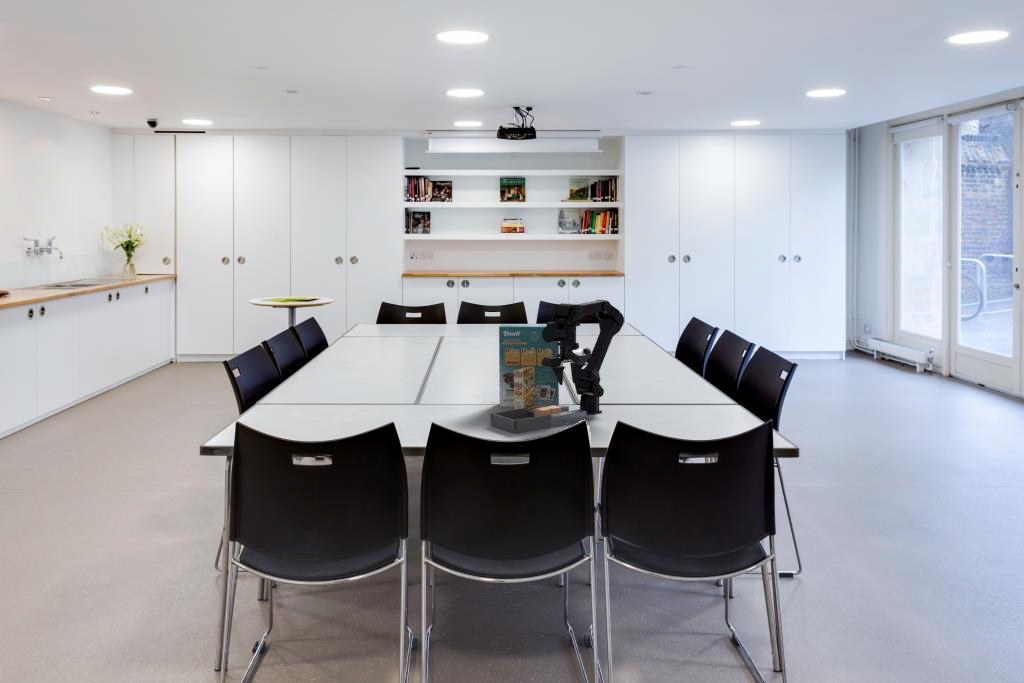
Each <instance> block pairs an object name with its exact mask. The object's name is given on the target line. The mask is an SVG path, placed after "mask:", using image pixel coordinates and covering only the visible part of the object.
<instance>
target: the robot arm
mask: <svg viewBox="0 0 1024 683" xmlns="http://www.w3.org/2000/svg"><path fill="white" fill-rule="evenodd" d="M595 313H596V317H597V320H599V323H598V326H599V334H598V337H597V339H596V341H595V343H594V346H593V349H592V351H591V348H589V347H585V348H580V344H579V342H577V327H580V326H581V324H580V322H578V320H580V319H582V317H583V316H587V315H591V314H595ZM552 316H553V317H552V319H551V321H550V322H546V325H547V326H546V327H545V328H544V329H543V332H542V337H543V339H544V341H545V342H547V343H551V342H557V345H558V346H559V354H557V357H559V358H557V357H552V356H551V357H544V358H543V360H542V365H544V366H548V367H551V368H552V370H553V372H554V373H555V375H556V378H557V380H558V382H559V386H563V383H564V371H565V368H566V366H564V364H565V363H566V364H567V363H569V364H570V365H569V366H570V372H571V379H572V383H573V384H574V387H575V392H576V395H578V396H579V395H580V400H579V409H581V410H585V411H586V415H594V414H598V413H599V414H600V413H602V412H603V410H601V409H600V398H601V397H604V393H605V389H604V388H603V387H602V385H601V384H600V382H601V375H600V370H601V369H602V365H603V362H604V360H605V357H606V355H607V353H608V350H609V348H610V346H611V343H612V340H613V338H614V336H616V335H617V334H618V333H620V331H621V329H622V327H623V326H624V324H625V317H624V315H623V313H621V311H620V310H619V309H618V308H616V307H615V306H613V305H612V304H611V302H609V300H606V299H596V300H593V301H586V302H582V303H581V302H580V303H560V304H558V307H557V308H556V311H554V314H553V315H552ZM558 341H559V342H558ZM583 367H584V368H583Z"/></svg>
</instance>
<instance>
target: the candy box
mask: <svg viewBox="0 0 1024 683" xmlns="http://www.w3.org/2000/svg"><path fill="white" fill-rule="evenodd" d="M513 407H514V409H520V408H528V410H533V409H536V407H535V378H534V367H523V368H519V369H517V370H514V406H513Z"/></svg>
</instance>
